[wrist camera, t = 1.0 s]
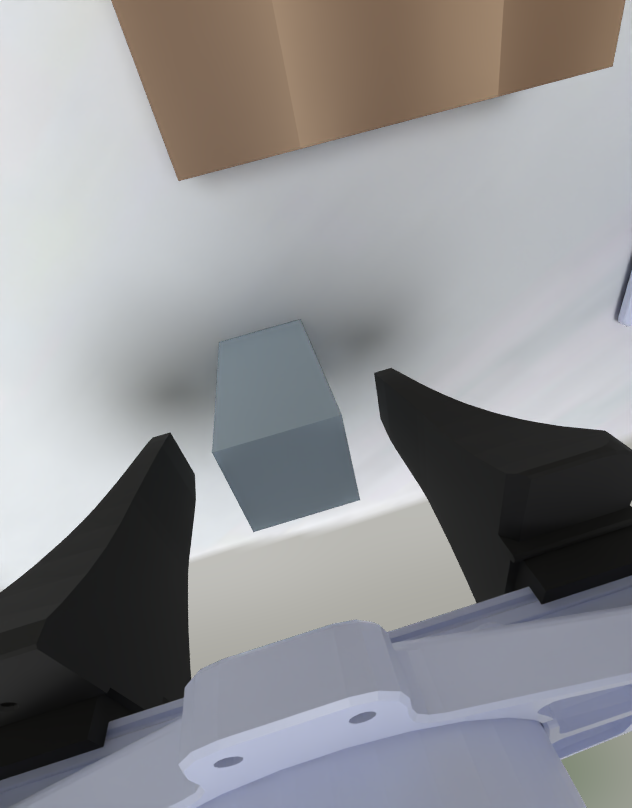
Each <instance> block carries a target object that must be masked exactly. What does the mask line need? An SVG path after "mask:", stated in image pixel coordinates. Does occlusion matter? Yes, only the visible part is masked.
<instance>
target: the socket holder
mask: <svg viewBox="0 0 632 808" xmlns="http://www.w3.org/2000/svg"><path fill="white" fill-rule="evenodd" d="M111 1H112V3H113V6H114V9H115V12H116V14H117V17H118V20H119V22H120V25H121V28H122V30H123V33H124V36H125V38H126V41H127V44H128V46H129V49H130V52H131V55H132V57H133V60H134V63H135V65H136V68H137V71H138V73H139V76H140V79H141V81H142V84H143V87H144V90H145V92H146V95H147V98H148V100H149V103H150V106H151V108H152V111H153V114H154V116H155V119H156V122H157V124H158V127H159V130H160V133H161V135H162V138H163V141H164V143H165V146H166V149H167V151H168V154H169V157H170V159H171V162H172V165H173V168H174V170H175V173H176V176H177V178H178V181H181V180H184V179H188V178H192V177H196V176H200V175H203V174H207V173H211V172H215V171H219V170H222V169H226V168H230V167H234V166H237V165H241V164H245V163H249V162H253V161H256V160H260V159H264V158H268V157H271V156H275V155H279V154H283V153H287V152H290V151H294V150H298V149H302V148H306V147H309V146H313V145H317V144H321V143H324V142H328V141H332V140H336V139H340V138H343V137H347V136H351V135H355V134H358V133H362V132H366V131H370V130H374V129H377V128H381V127H385V126H389V125H393V124H396V123H400V122H404V121H408V120H411V119H415V118H419V117H423V116H427V115H430V114H434V113H438V112H442V111H446V110H449V109H453V108H457V107H461V106H464V105H468V104H472V103H476V102H480V101H483V100H487V99H491V98H495V97H498V96H502V95H506V94H510V93H514V92H517V91H521V90H525V89H529V88H533V87H536V86H540V85H544V84H548V83H551V82H555V81H559V80H563V79H567V78H570V77H574V76H578V75H582V74H586V73H589V72H593V71H597V70H601V69H604V68H608V67H612V66H613V61H614V56H615V51H616V46H617V41H618V36H619V31H620V25H621V20H622V15H623V10H624V5H625V0H111Z"/></svg>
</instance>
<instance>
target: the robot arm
mask: <svg viewBox="0 0 632 808" xmlns="http://www.w3.org/2000/svg"><path fill="white" fill-rule="evenodd" d="M618 321H619V323H621V324H623V325H625V326H632V272H631V275H630V279H629V282H628V286H627V289H626V292H625V296H624V299H623V303H622V306H621V310H620V313H619V317H618ZM374 375H375V382H376V389H377V396H378V404H379V411H380V418H381V421H382V423H383V425H384V427H385V430H386V432H387V434H388V436H389V438H390V440H391V442H392V444H393V445H394V447H395V448H396V450H397V451H398V453H399V455H400V456H401V458H402V459H403V461H404V462H405V464H406V465H407V467H408V468H409V470H410V472H411V473H412V475H413V476H414V478H415V479H416V481H417V482H418V484H419V485H420V487H421V489H422V490H423V492H424V494H425V495H426V497H427V499H428V501H429V502H430V504H431V507H432V509H433V510H434V513H435V515H436V517H437V518H438V520H439V523H440V524H441V526H442V528H443V531H444V533H445V534H446V537H447V539H448V541H449V543H450V545H451V547H452V549H453V552H454V554H455V556H456V558H457V560H458V562H459V565H460V567H461V569H462V571H463V573H464V575H465V577H466V580H467V582H468V584H469V587H470V589H471V591H472V593H473V596H474V598H475V600H476V604H473V605H470V606H467V607H464V608H461V609H457V610H454V611H451V612H448V613H445V614H442V615H439V616H436V617H433V618H430V619H426V620H424V621H420V622H417V623H414V624H411V625H408V626H405V627H402V628H399V629H396V630H392V631H389V632H386V631H385V630H384V629H383V628H382V627H381V626H380V625H379V624H377V623H375V622H370V621H362V620H351V621H346V622H340V623H335V624H331V625H327V626H324V627H321V628H318V629H315V630H312V631H309V632H306V633H303V634H300V635H296V636H293V637H290V638H287V639H284V640H281V641H277V642H274V643H271V644H268V645H265V646H262V647H259V648H255V649H252V650H249V651H246V652H243V653H240V654H237V655H233V656H230V657H227V658H224V659H221V660H219V661H217V662H215V663H213V664H210V665H208V666H206V667H204V668H202V669H200V670H199V671H198V672H197V674H196V675H195V676H194V677H193V678H192V679H191V671H190V653H189V633H188V566H189V555H190V546H191V538H192V529H193V521H194V512H195V502H196V492H195V474H194V472H193V470H192V469H191V467H190V465H189V464H188V462H187V460H186V458H185V457H184V455H183V453H182V452H181V450H180V448H179V446H178V445H177V443H176V441H175V440H174V438H173V436H172V435H171V433H167V434H163V435H160V436H157V437H153V438H152V439H151V440H150V441H149V442H148V444H147V445H146V446H145V447H144V448H143V450H142V451H141V452H140V454H139V455H138V456H137V457H136V459H135V460H134V461H133V463H132V464H131V465H130V466H129V468H128V469H127V470H126V472H125V473H124V474H123V475H122V477H121V478H120V479H119V480H118V482H117V483H116V484H115V485H114V486H113V488H112V489H111V490H110V491H109V492H108V494H107V495H106V496H105V497H104V498H103V499H102V501H101V502H100V503H99V504H98V505H97V506H96V508H95V509H94V510H93V511H92V512H91V513H90V514H89V515H88V516H87V517H86V518H85V519H84V520H83V521H82V522H81V523H80V524H79V525H78V526H77V527H76V528H75V529H74V530H73V531H72V532H71V533H70V534H69V535H68V536H67V537H66V538H65V539H64V540H63V541H62V542H61V543H60V544H58V545H57V546H56V547H55V548H54V549H53V550H52V551H51V552H49V553H48V554H47V555H46V556H45V557H44V558H43V559H41V560H40V561H39V562H38V563H37V564H36V565H35V566H33V567H32V568H31V569H30V570H28V571H27V572H26V573H25V574H24V575H22V576H21V577H20V578H19V579H17V580H16V581H15V582H13V583H12V584H11V585H10V586H8V587H7V588H6V589H4V590H3V591H2V592H0V808H587V807H586V805H585V803H584V801H583V800H582V798H581V796H580V794H579V793H578V791H577V789H576V787H575V785H574V783H573V782H572V780H571V778H570V776H569V774H568V772H567V771H566V769H565V767H564V765H563V764H562V762H561V759H564V758H566V757H569V756H571V755H574V754H576V753H579V752H581V751H583V750H586V749H588V748H591V747H593V746H596V745H598V744H600V743H603V742H606V741H608V740H610V739H613V738H615V737H618V736H620V735H623V734H625V733H628V732H630V731H632V507H631V506H630V503H631V501H632V450H631V449H630V448H629V447H627V446H626V445H625V444H623V443H622V442H620V441H619V440H618V439H616V438H615V437H613V436H612V435H611V434H609V433H608V432H606V431H603V430H593V429H583V428H573V427H563V426H556V425H550V424H544V423H538V422H532V421H527V420H522V419H518V418H513V417H509V416H505V415H501V414H497V413H494V412H490V411H487V410H484V409H480V408H477V407H474V406H471V405H468V404H466V403H463V402H460V401H458V400H455V399H453V398H451V397H448V396H446V395H443V394H441V393H439V392H437V391H435V390H433V389H431V388H428V387H426V386H424V385H422V384H421V383H419V382H417V381H415V380H413V379H411V378H409V377H407V376H405V375H404V374H402V373H400V372H398V371H396V370H394V369H392V368H389V369H386V370H383V371H379V372H376V373H374Z"/></svg>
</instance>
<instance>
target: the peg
mask: <svg viewBox="0 0 632 808" xmlns="http://www.w3.org/2000/svg"><path fill="white" fill-rule="evenodd" d="M212 453H213V455H214V457H215V459H216V461H217V463H218V465H219V467H220V468H221V470H222V472H223V474H224V476H225V478H226V480H227V482H228V484H229V486H230V488H231V490H232V492H233V493H234V495H235V497H236V499H237V501H238V503H239V505H240V507H241V509H242V511H243V513H244V515H245V517H246V518H247V520H248V522H249V524H250V526H251V528H252V530H253V532H255V531H259V530H262V529H265V528H268V527H272V526H275V525H278V524H282V523H285V522H288V521H292V520H295V519H298V518H302V517H305V516H308V515H312V514H315V513H318V512H322V511H325V510H328V509H332V508H335V507H338V506H342V505H345V504H348V503H351V502H355V501H358V500H360V498H359V493H358V488H357V484H356V479H355V475H354V470H353V465H352V461H351V456H350V452H349V447H348V442H347V438H346V433H345V429H344V424H343V419H342V415H341V412H340V410H339V408H338V405H337V403H336V401H335V398H334V396H333V394H332V391H331V389H330V387H329V385H328V382H327V380H326V378H325V375H324V373H323V371H322V368H321V366H320V364H319V361H318V359H317V357H316V354H315V352H314V350H313V347H312V345H311V343H310V340H309V338H308V336H307V333H306V331H305V329H304V326H303V324H302V322H301V319H300V320H296V321H292V322H289V323H285V324H282V325H278V326H275V327H271V328H268V329H264V330H260V331H257V332H253V333H250V334H246V335H243V336H239V337H236V338H232V339H228V340H225V341H221V342H219V355H218V370H217V386H216V401H215V417H214V432H213V448H212Z"/></svg>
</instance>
